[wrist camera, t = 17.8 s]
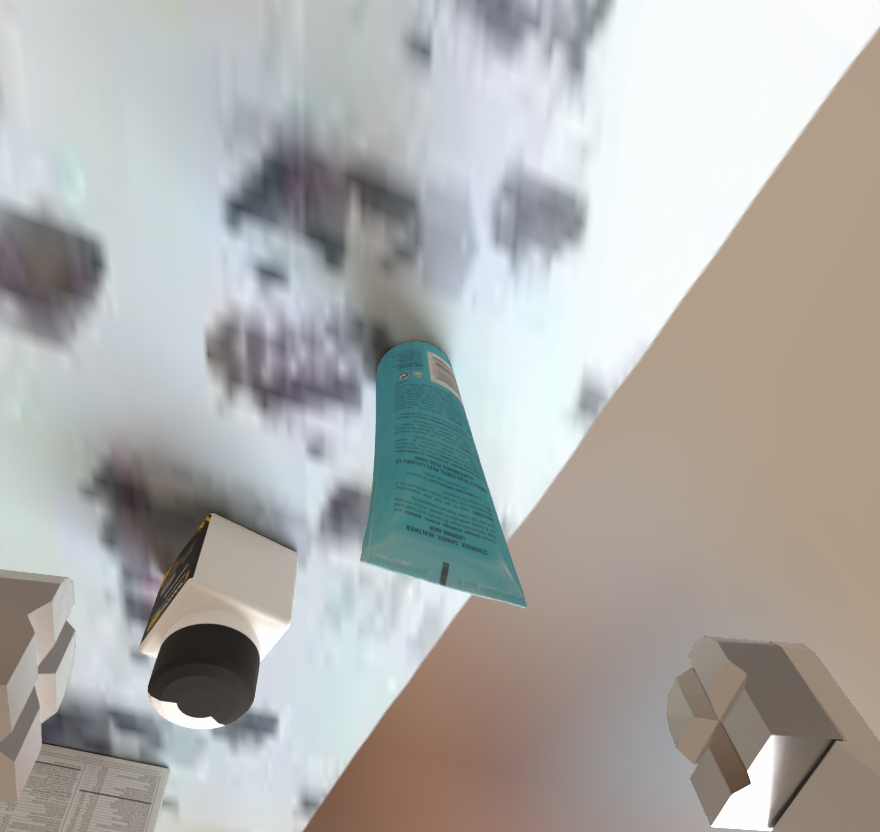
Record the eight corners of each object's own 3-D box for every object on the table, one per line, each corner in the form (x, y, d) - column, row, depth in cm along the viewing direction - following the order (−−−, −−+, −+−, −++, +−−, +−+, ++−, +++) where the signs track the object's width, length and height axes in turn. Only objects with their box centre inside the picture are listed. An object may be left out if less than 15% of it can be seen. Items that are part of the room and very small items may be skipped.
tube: (348, 392, 45) (342, 609, 29) (370, 325, 43) (377, 515, 27) (456, 421, 47) (510, 640, 31) (483, 357, 45) (555, 555, 28)
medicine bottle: (210, 509, 49) (170, 642, 38) (301, 552, 51) (286, 687, 41) (162, 576, 51) (112, 719, 41) (251, 614, 54) (225, 757, 43)
